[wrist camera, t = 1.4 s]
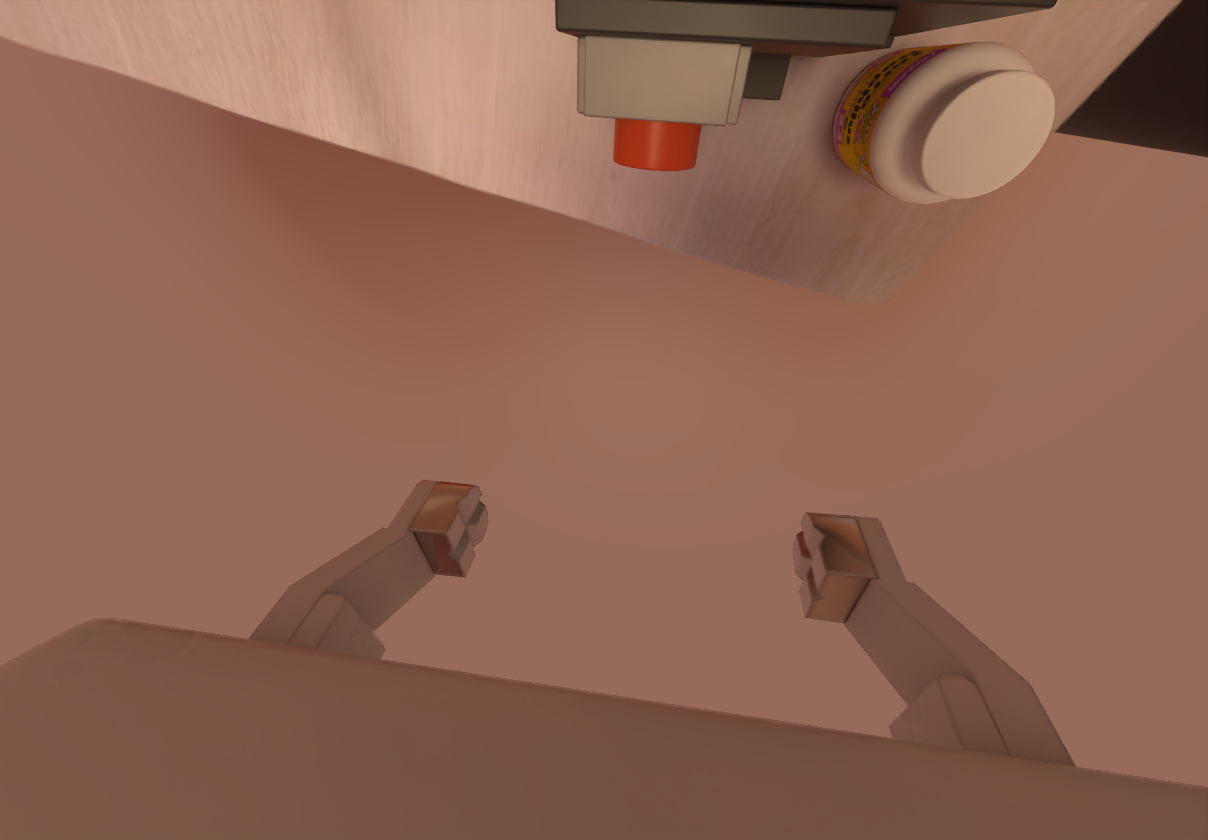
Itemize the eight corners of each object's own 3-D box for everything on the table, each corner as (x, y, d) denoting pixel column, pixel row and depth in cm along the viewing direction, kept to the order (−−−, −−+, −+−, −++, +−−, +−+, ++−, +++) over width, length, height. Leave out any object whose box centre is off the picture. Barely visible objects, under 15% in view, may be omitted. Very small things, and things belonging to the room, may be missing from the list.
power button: (704, 101, 17) (706, 105, 14) (694, 160, 18) (695, 173, 16) (622, 95, 17) (610, 98, 15) (619, 154, 18) (607, 166, 16)
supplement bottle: (890, 23, 26) (1013, -8, 16) (972, 87, 27) (1134, 96, 17) (807, 140, 30) (863, 174, 20) (881, 192, 31) (969, 248, 21)
